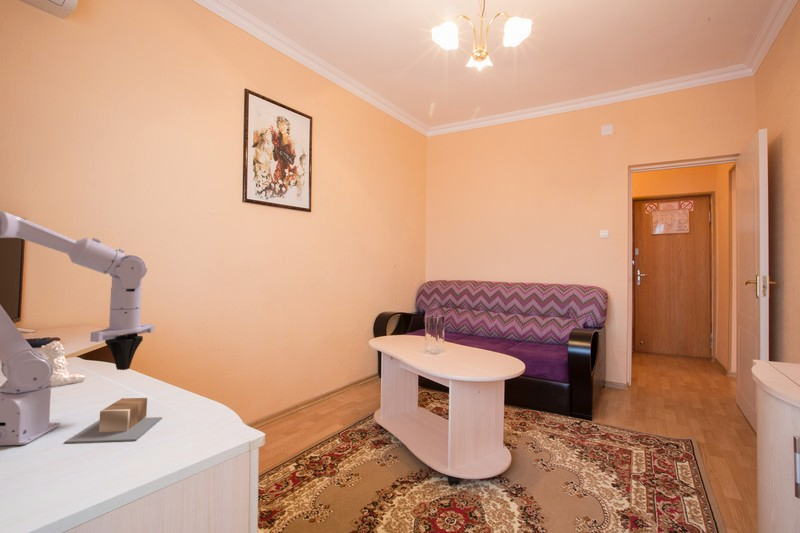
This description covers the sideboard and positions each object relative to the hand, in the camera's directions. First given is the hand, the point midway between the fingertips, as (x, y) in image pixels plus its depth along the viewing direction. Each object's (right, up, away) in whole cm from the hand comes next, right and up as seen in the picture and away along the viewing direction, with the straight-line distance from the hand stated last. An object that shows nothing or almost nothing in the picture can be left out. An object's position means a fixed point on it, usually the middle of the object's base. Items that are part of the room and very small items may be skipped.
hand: (123, 369), depth 88 cm
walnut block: (+4, -8, -3) cm, 9 cm away
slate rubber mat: (+5, -10, -9) cm, 14 cm away
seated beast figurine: (-32, -10, +20) cm, 39 cm away
